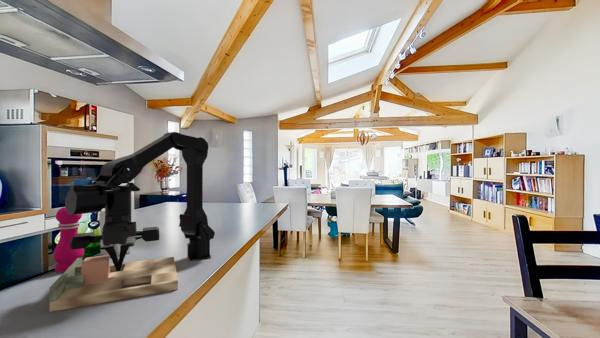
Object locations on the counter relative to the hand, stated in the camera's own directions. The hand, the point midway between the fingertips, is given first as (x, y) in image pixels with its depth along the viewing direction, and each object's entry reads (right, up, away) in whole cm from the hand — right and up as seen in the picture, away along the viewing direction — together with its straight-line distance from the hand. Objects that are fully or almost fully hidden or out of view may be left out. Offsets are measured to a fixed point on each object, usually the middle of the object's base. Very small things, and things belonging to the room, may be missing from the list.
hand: (118, 270), depth 72 cm
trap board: (+1, -3, +1) cm, 3 cm away
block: (-4, -1, -2) cm, 5 cm away
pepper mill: (-22, -4, +11) cm, 25 cm away
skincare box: (-19, -4, +27) cm, 33 cm away
